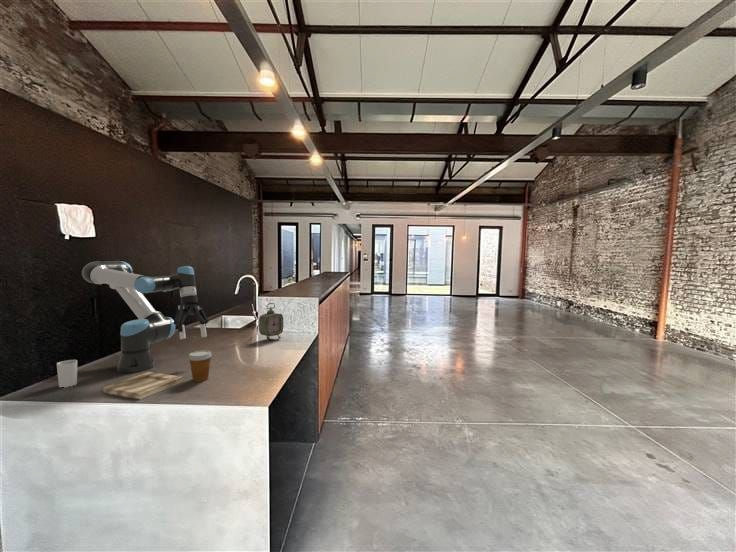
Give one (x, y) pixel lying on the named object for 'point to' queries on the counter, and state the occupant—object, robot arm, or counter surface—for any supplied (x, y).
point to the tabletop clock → (271, 323)
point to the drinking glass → (67, 373)
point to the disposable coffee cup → (200, 365)
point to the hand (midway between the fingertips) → (193, 337)
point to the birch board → (143, 385)
